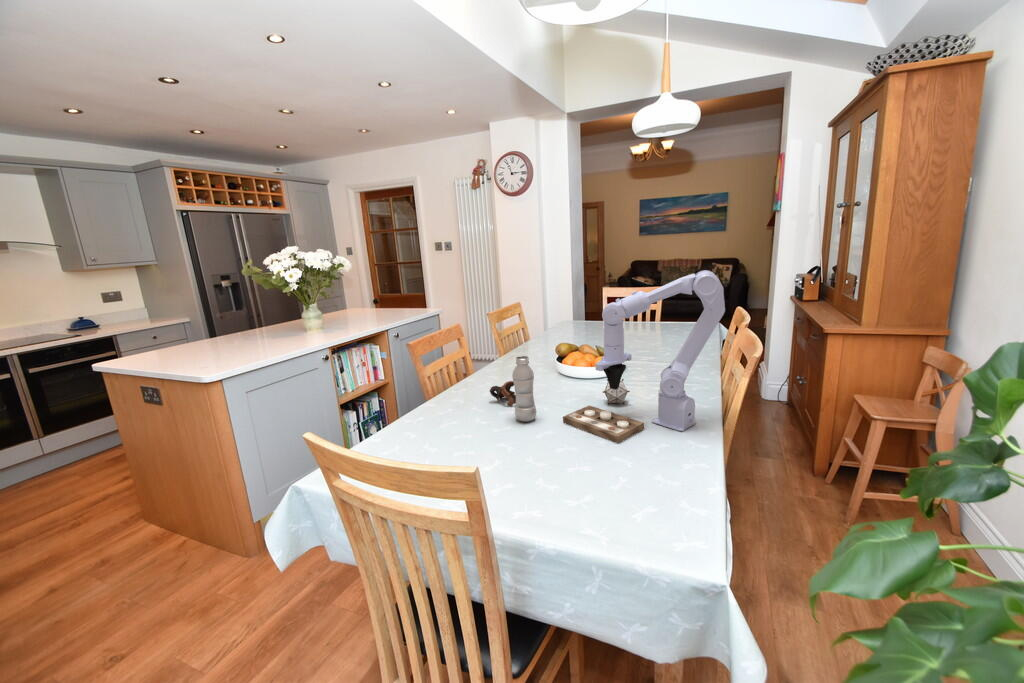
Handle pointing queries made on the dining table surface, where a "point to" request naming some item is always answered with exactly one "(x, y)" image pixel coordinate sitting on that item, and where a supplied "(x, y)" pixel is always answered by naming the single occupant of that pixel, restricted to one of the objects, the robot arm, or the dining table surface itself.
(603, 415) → the button middle
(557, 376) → the dining table surface
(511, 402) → the dark brown twisted loops
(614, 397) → the game die
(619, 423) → the button
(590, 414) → the button
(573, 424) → the button board
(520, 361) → the plastic bottle
